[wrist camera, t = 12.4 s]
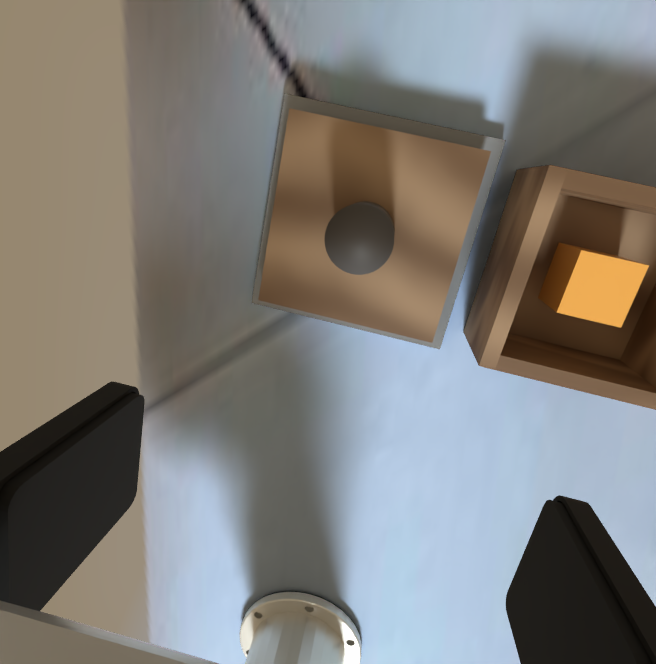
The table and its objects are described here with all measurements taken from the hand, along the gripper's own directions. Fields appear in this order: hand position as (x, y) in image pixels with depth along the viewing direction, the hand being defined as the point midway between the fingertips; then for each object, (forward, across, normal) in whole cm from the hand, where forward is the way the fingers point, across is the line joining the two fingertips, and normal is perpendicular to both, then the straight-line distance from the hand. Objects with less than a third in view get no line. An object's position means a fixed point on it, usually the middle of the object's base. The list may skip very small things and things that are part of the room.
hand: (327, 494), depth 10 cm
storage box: (+26, -14, -4) cm, 29 cm away
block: (+24, -14, -4) cm, 28 cm away
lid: (+24, +2, -4) cm, 25 cm away
